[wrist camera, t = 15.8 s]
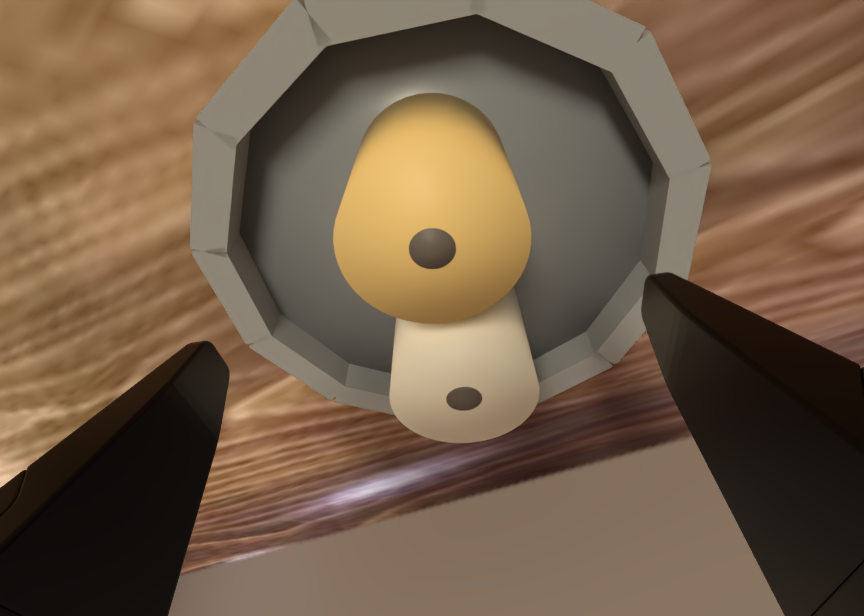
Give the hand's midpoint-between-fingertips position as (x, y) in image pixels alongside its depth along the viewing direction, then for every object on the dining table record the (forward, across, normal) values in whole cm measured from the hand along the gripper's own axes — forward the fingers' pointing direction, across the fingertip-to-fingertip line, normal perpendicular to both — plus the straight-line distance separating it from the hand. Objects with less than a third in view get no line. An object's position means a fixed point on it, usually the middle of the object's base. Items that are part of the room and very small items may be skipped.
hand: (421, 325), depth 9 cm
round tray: (+9, 0, +3) cm, 10 cm away
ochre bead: (+8, 0, 0) cm, 8 cm away
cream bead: (+8, 0, +6) cm, 10 cm away
